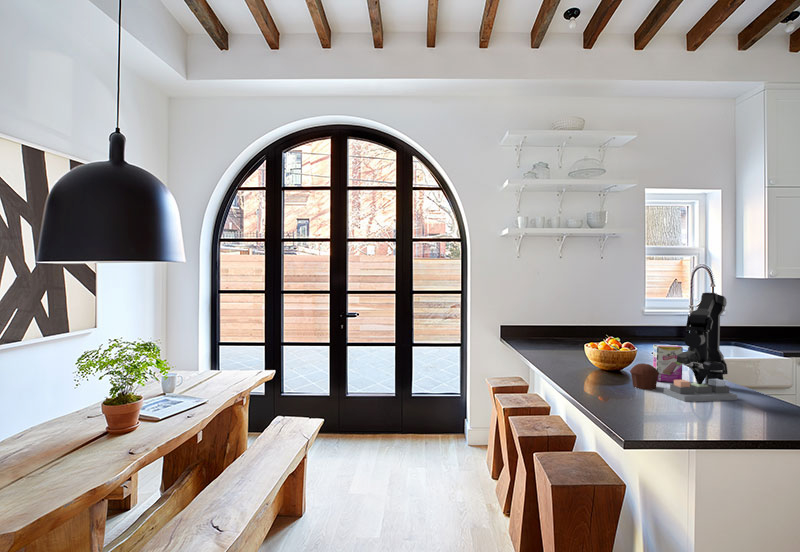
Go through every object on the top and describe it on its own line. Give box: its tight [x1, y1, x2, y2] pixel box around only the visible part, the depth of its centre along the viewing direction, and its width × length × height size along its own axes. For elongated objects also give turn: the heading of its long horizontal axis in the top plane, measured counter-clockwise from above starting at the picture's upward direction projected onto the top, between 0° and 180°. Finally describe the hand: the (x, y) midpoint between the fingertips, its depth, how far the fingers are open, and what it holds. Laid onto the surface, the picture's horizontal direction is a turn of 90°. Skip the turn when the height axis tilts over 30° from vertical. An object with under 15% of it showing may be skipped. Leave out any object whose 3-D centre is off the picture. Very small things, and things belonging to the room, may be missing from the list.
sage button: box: [690, 382, 708, 387], centre depth 185 cm, size 4×4×3 cm
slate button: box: [708, 379, 726, 386], centre depth 186 cm, size 4×4×3 cm
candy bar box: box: [652, 344, 683, 383], centre depth 213 cm, size 11×5×16 cm, turn 84°
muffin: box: [629, 362, 659, 391], centre depth 201 cm, size 12×11×10 cm
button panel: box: [663, 382, 738, 402], centre depth 185 cm, size 12×22×4 cm, turn 96°
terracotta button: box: [673, 379, 691, 387], centre depth 184 cm, size 4×4×3 cm
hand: (699, 384), depth 185 cm, fingers closed, pressing on sage button
